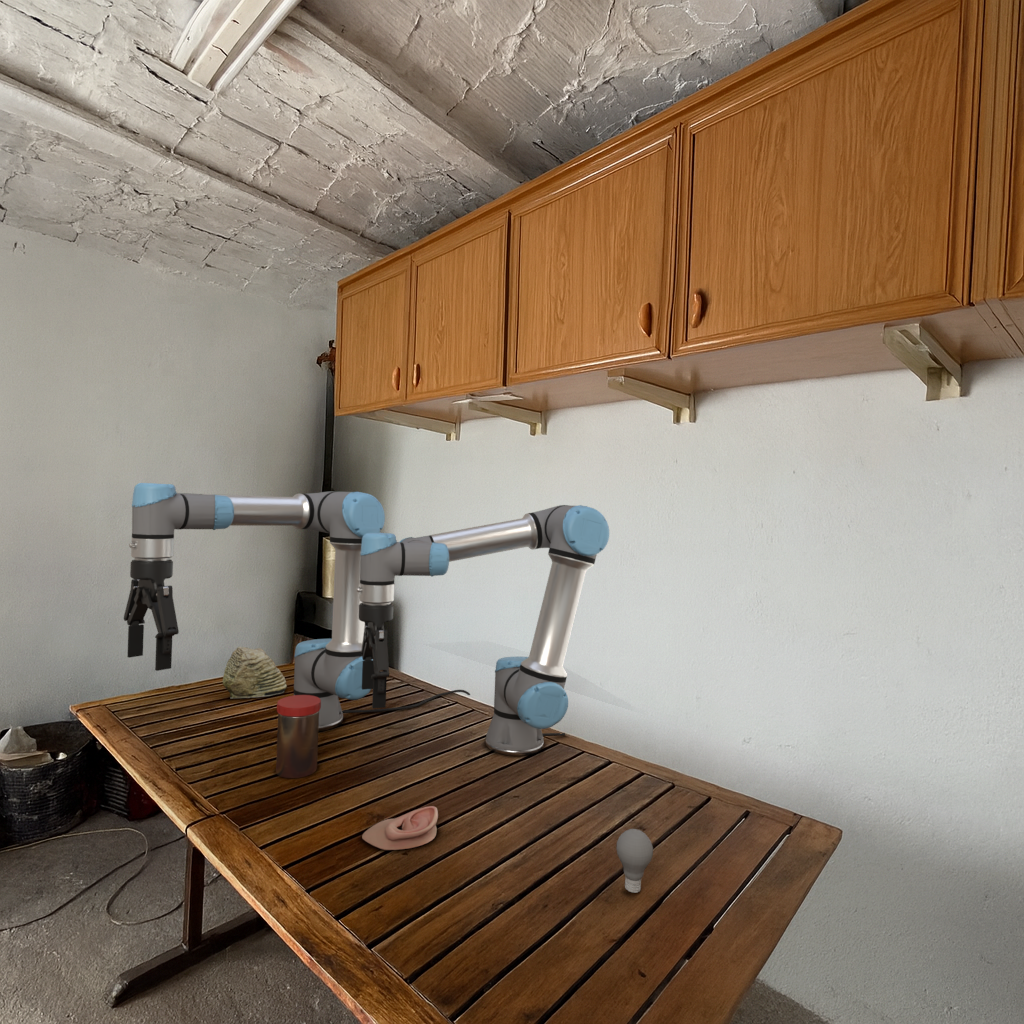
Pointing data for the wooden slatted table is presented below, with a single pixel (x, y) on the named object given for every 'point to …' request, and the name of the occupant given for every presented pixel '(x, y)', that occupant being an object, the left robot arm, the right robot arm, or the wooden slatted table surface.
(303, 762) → the jar
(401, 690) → the wooden slatted table surface
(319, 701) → the lid
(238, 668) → the fossil
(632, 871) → the light bulb
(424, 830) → the anatomical model
